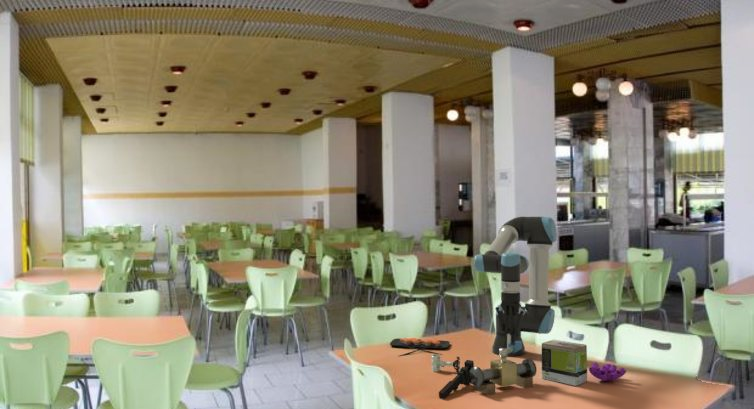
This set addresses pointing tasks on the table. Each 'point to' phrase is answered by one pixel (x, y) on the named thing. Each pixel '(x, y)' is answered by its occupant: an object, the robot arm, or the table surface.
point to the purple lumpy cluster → (606, 372)
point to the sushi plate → (420, 344)
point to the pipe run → (503, 375)
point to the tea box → (564, 362)
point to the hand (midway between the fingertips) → (510, 349)
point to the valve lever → (510, 349)
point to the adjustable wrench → (457, 380)
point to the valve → (443, 363)
